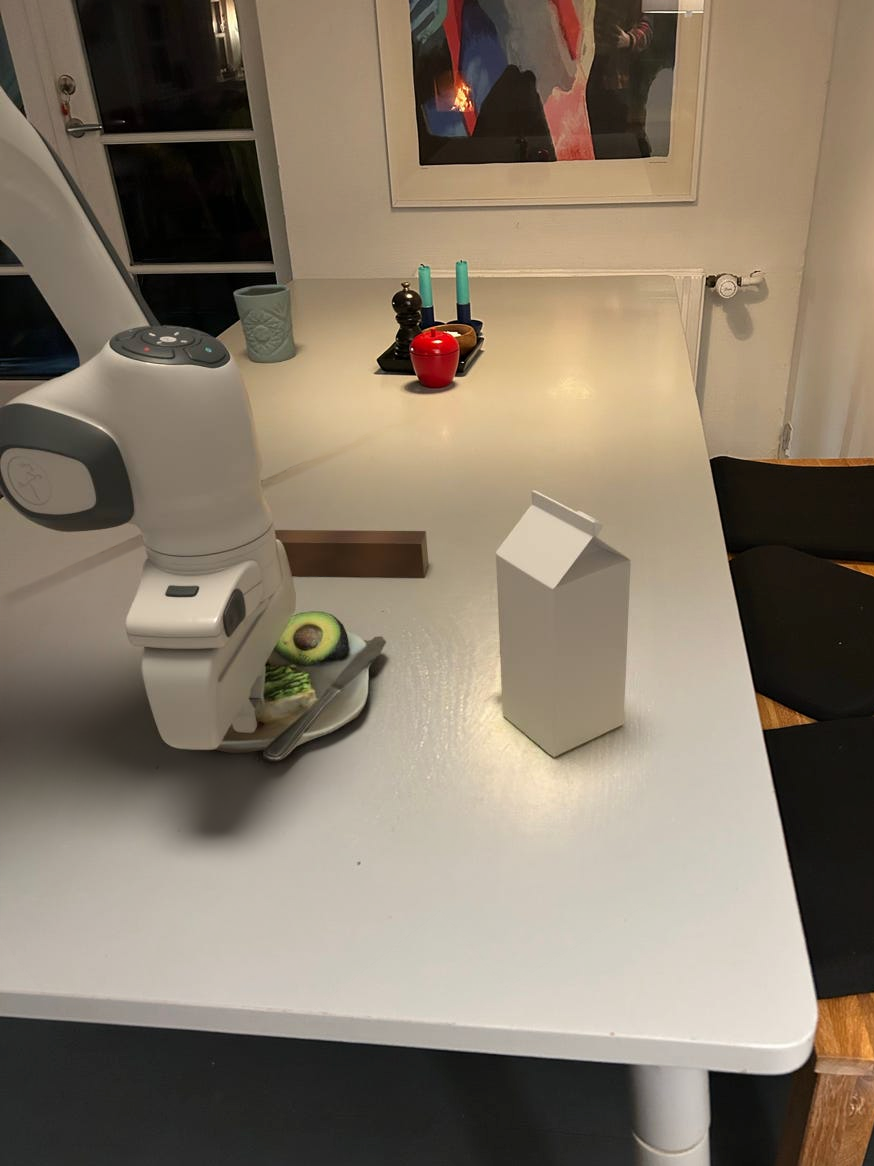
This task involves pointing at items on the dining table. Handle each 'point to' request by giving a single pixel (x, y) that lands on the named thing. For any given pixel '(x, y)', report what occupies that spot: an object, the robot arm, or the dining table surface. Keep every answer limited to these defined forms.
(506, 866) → the dining table surface
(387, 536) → the rail
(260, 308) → the drinking glass
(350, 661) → the salad plate
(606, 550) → the milk carton
